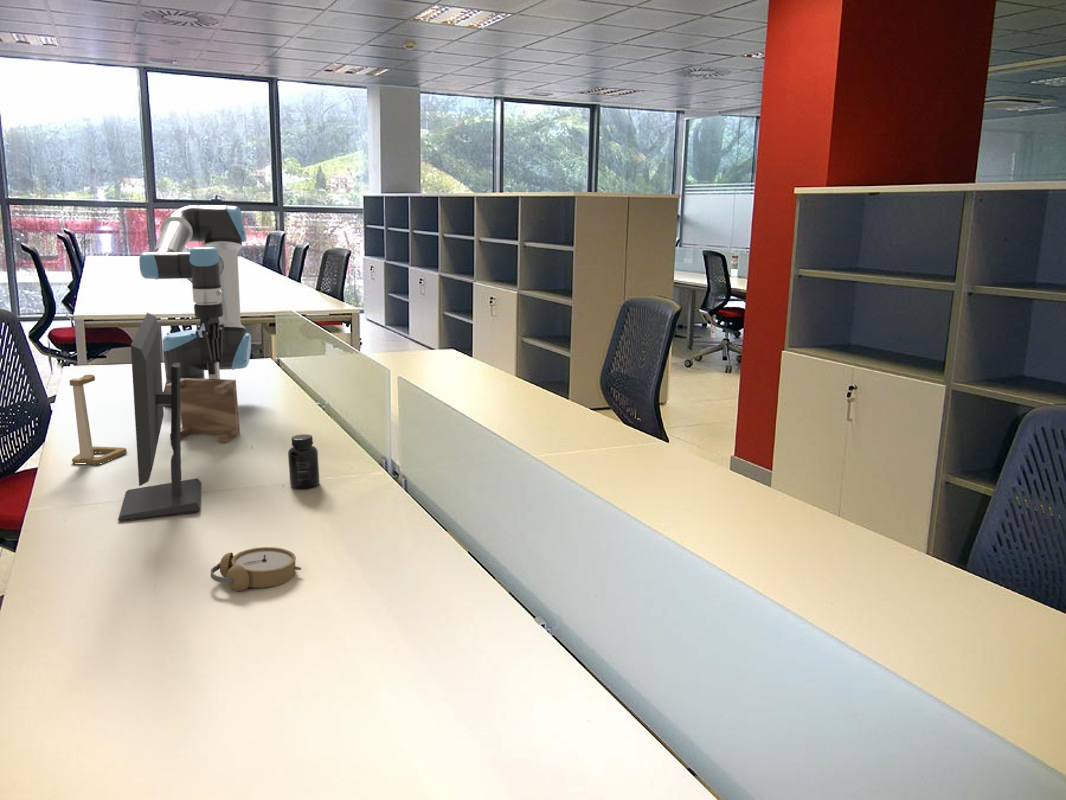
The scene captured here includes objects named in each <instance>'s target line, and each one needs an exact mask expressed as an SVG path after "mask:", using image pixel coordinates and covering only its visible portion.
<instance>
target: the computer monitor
mask: <svg viewBox="0 0 1066 800" xmlns="http://www.w3.org/2000/svg"><path fill="white" fill-rule="evenodd" d="M161 351H162V350H161V334H160V325H159V322H158V319H157V317H156V315H153V314H151V313H149V312H146V314H145V316H144V318H143V320H142V322H141V324H140V326H139V328H138V330H137V332H136V333H135V336H134V337H133V339H132V341H131V344H130V352H131V353H130V355H131V356H130V357H131V369H132V373H131V374H132V387H133V405H134V421H135V439H136V440H135V443H136V453H137V454H136V456H137V472H138V473H137V474H138V476H137V477H138V487H137V488H136V487H135V488H131V489H127V490H126V491H125V494H124V497H123V500H122V501H123V502H122V505H121V508H120V510H119V515H118V517H117V520H118V521H121V522H123V521H122V520H126V521H132V520H131V519H135V520H141V518H143V519H149V518H150V519H151V518H159V517H167V516H168V515H169V516H175V515H176V516H177V515H184V514H192V513H193V514H195V513H198V512H200V510H201V501H202V499H201V498H202V482H201V480H200V479H199V478H198V477H197V478H196V477H195V478H191V479H185V480H182V460H181V459H182V457H181V456H182V455H181V454H182V453H181V449H182V448H181V447H182V446H181V445H182V444H181V440H180V428H181V408H180V363H173V365H172V368H171V392H164V389H163V375H162V374H163V373H162V355H161V354H162V353H161ZM163 404H171V407H170V408H171V412H170V413H171V415H170V419H171V420H170V434H171V440H170V446H171V449H172V452H173V453H172V455H171V458H170V474H171V475H170V476H171V477H170V479H171V482H167V483H161V484H156V485H149V486H148V485H147V486H143V485H145V484H147V483H148V482H149V481H150V478H151V474H152V471H153V466H154V461H155V457H156V453H157V450H158V449H157V448H158V445H159V444H158V443H159V439H160V435H161V434H160V433H161V429H162V424H163V419H164V416H165V414H164V412H165V411H164V405H163ZM141 486H143V487H141Z"/></svg>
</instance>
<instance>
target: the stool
mask: <svg viewBox="0 0 1066 800" xmlns="http://www.w3.org/2000/svg"><path fill="white" fill-rule="evenodd" d="M164 388H165V390H166V392H171V383H169V384H167V385H165V384H164ZM238 404H239V403H238V391H237V380H236V379H226V378H225V379H223V378H222V379H221V378H220V379H209V378H205V379H197V378H180V420H181V426H182V427H180V439H181V440H183V439H184V438H186V437H187V436H189V435H199V434H206V435H207V436H218V443H219V444H227V443H228V442H230V441H232V440H234V439H235V438H236V437H238V436H239V435H240V434H241V431H240V418H239V417H240V416H239V405H238ZM237 435H238V436H237ZM185 436H186V437H185ZM169 439H170V441H171V433H169Z"/></svg>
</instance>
